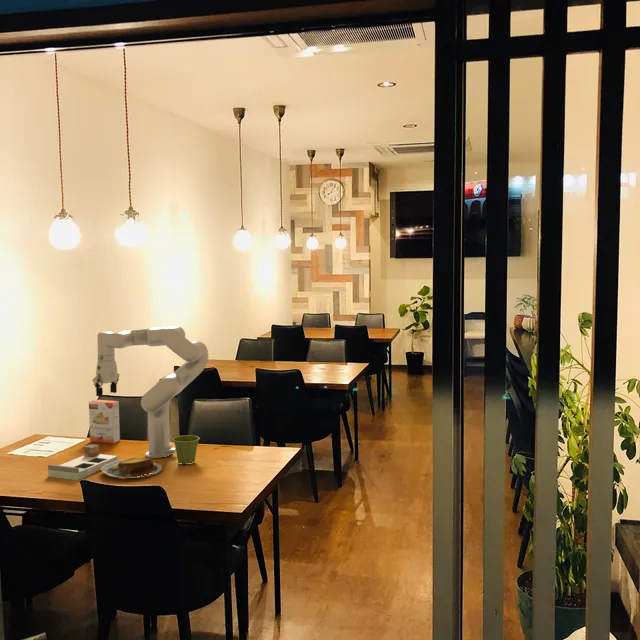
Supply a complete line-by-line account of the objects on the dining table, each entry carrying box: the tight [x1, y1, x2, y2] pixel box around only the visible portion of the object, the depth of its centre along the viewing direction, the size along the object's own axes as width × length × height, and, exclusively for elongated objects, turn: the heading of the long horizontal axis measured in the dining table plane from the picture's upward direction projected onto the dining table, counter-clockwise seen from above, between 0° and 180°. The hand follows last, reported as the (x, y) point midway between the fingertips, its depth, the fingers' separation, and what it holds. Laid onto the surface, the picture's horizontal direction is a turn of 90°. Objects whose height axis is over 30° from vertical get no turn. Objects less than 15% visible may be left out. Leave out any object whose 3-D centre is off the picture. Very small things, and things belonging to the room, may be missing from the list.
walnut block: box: [83, 444, 100, 458], centre depth 298 cm, size 4×4×4 cm
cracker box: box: [88, 399, 121, 445], centre depth 334 cm, size 14×6×21 cm, turn 73°
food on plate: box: [100, 456, 163, 480], centre depth 283 cm, size 25×25×7 cm
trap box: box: [47, 453, 119, 481], centre depth 288 cm, size 15×26×5 cm, turn 160°
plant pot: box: [172, 434, 201, 464], centre depth 296 cm, size 12×12×11 cm
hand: (106, 394), depth 310 cm, fingers open, 9 cm apart
